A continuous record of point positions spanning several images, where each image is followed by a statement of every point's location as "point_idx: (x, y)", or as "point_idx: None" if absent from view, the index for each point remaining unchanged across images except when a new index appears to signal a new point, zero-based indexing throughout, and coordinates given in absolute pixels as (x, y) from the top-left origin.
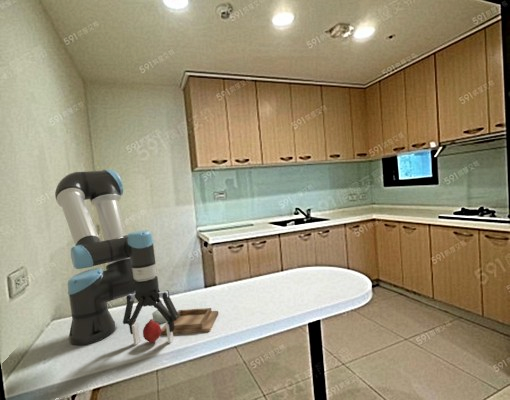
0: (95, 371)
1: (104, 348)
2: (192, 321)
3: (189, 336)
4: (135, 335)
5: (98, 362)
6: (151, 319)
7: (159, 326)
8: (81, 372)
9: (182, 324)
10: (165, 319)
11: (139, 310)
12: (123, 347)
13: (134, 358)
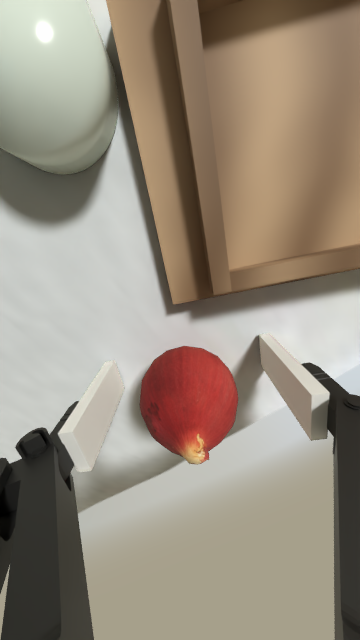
0: (108, 497)
1: (9, 414)
2: (341, 156)
3: (341, 302)
4: (112, 416)
5: (75, 471)
6: (199, 462)
7: (233, 397)
8: None
9: (320, 267)
10: (102, 133)
11: (76, 597)
12: None
13: None
